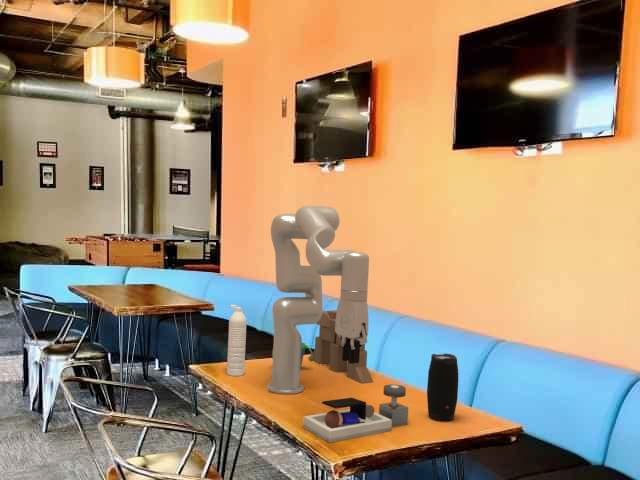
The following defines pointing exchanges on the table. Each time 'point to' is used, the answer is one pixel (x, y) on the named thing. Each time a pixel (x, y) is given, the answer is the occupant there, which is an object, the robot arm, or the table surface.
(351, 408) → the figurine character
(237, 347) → the water bottle
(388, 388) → the gray mushroom knob
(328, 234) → the robot arm
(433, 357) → the portable speaker
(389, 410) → the block
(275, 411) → the table surface
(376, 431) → the tray
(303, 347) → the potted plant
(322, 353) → the brown block wall
